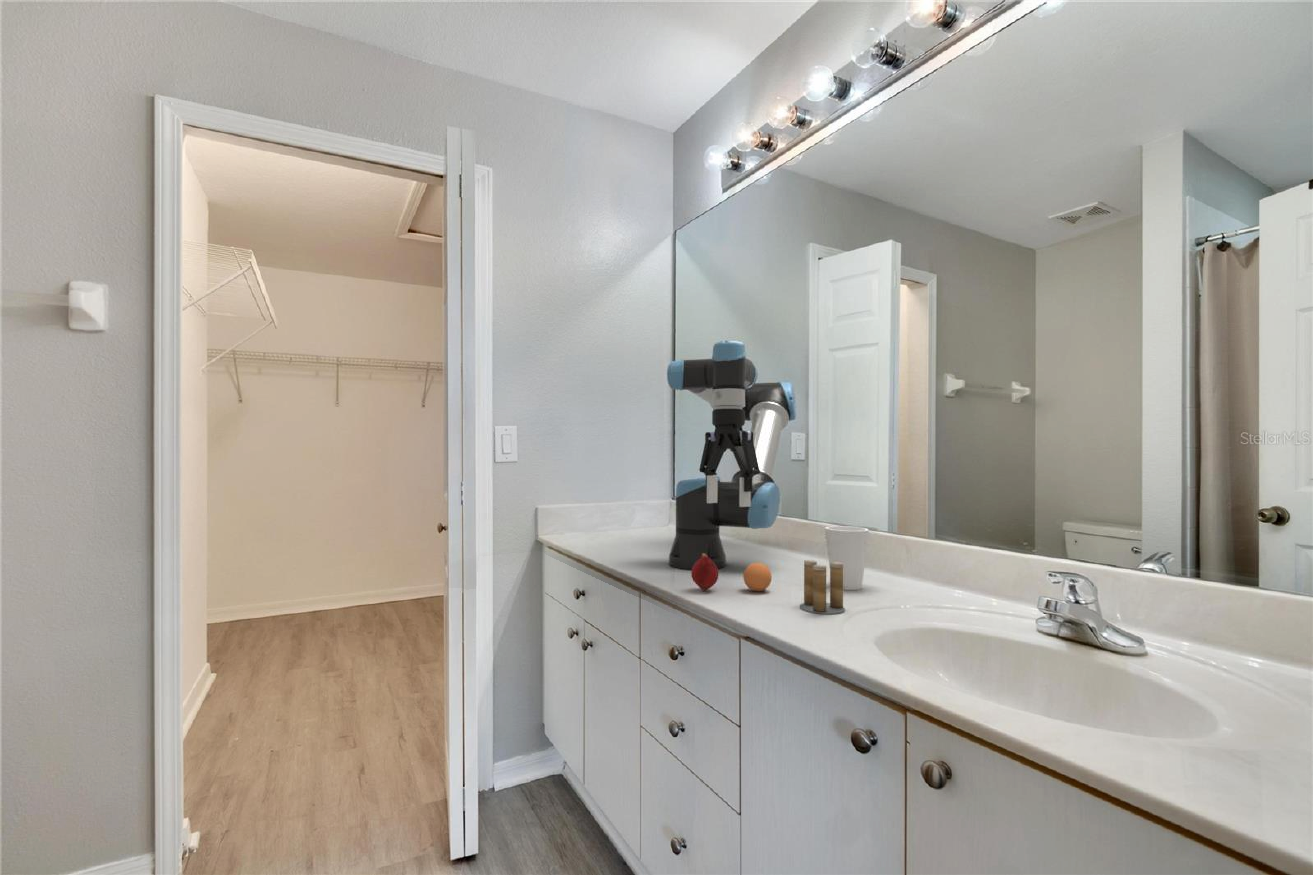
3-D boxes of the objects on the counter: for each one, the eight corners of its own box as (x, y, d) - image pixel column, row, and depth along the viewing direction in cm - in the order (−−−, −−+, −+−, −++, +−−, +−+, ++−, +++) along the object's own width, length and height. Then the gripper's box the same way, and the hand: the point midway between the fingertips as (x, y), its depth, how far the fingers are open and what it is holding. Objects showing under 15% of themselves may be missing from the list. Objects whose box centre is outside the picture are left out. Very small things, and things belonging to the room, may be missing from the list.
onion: (718, 588, 132) (718, 551, 132) (718, 594, 126) (718, 556, 126) (691, 587, 132) (692, 551, 133) (690, 593, 127) (691, 555, 127)
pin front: (804, 603, 119) (804, 559, 119) (816, 604, 119) (816, 560, 119) (804, 606, 117) (804, 561, 117) (816, 607, 116) (816, 562, 116)
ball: (744, 587, 133) (745, 559, 133) (772, 588, 132) (772, 561, 132) (741, 593, 127) (742, 564, 127) (770, 595, 126) (770, 566, 126)
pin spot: (800, 601, 120) (800, 600, 120) (843, 604, 118) (843, 603, 118) (799, 612, 112) (799, 611, 112) (846, 615, 110) (846, 614, 110)
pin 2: (829, 606, 117) (829, 561, 117) (842, 607, 117) (842, 562, 117) (830, 609, 115) (830, 564, 115) (843, 610, 114) (843, 564, 114)
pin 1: (813, 609, 114) (813, 564, 114) (826, 610, 114) (826, 565, 114) (813, 613, 112) (813, 566, 112) (826, 614, 111) (826, 567, 112)
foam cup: (816, 585, 135) (816, 528, 135) (839, 580, 141) (839, 525, 141) (855, 593, 128) (855, 532, 128) (876, 587, 134) (876, 529, 134)
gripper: (684, 410, 145) (684, 501, 145) (752, 404, 127) (751, 509, 126) (708, 412, 150) (707, 500, 149) (777, 406, 131) (776, 507, 131)
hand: (728, 504), depth 138 cm, fingers open, 10 cm apart
